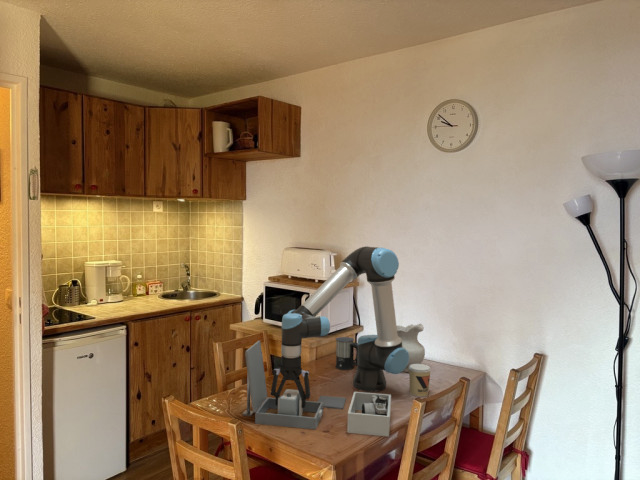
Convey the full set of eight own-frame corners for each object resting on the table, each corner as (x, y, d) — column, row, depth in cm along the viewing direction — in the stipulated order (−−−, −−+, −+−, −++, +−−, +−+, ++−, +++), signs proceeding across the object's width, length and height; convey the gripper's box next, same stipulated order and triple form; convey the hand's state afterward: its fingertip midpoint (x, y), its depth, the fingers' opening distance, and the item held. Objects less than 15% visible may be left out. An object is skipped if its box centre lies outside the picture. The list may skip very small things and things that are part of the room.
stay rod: (254, 412, 184) (255, 350, 183) (251, 416, 180) (252, 353, 179) (245, 411, 184) (246, 349, 183) (242, 415, 181) (243, 352, 180)
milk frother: (333, 369, 239) (334, 340, 238) (339, 360, 254) (339, 333, 254) (361, 372, 236) (362, 342, 235) (365, 362, 251) (366, 335, 250)
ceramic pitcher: (377, 372, 239) (377, 324, 236) (387, 359, 257) (387, 314, 254) (420, 378, 231) (421, 329, 228) (427, 364, 248) (428, 318, 246)
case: (324, 412, 185) (324, 402, 185) (317, 429, 170) (317, 418, 169) (267, 407, 189) (267, 397, 189) (255, 423, 174) (255, 412, 173)
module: (300, 413, 184) (301, 387, 183) (294, 424, 174) (295, 397, 173) (285, 412, 185) (286, 386, 184) (279, 422, 175) (279, 395, 175)
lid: (260, 340, 188) (256, 340, 189) (247, 351, 173) (243, 351, 173) (267, 396, 189) (264, 396, 189) (255, 412, 173) (251, 412, 174)
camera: (359, 413, 185) (360, 388, 184) (382, 413, 185) (383, 388, 185) (365, 431, 169) (365, 403, 169) (389, 431, 170) (390, 403, 169)
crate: (390, 412, 186) (391, 394, 186) (388, 436, 165) (389, 417, 165) (353, 408, 189) (354, 391, 189) (347, 432, 168) (347, 413, 167)
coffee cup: (417, 399, 201) (418, 371, 200) (403, 391, 209) (404, 365, 209) (434, 395, 205) (435, 368, 205) (420, 388, 214) (421, 362, 213)
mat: (346, 399, 199) (346, 397, 199) (342, 409, 188) (342, 407, 188) (320, 396, 201) (320, 395, 201) (315, 406, 190) (315, 405, 190)
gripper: (319, 354, 180) (318, 413, 181) (267, 350, 184) (267, 408, 185) (316, 360, 173) (314, 421, 174) (262, 356, 176) (261, 416, 177)
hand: (290, 414), depth 179 cm, fingers open, 8 cm apart
